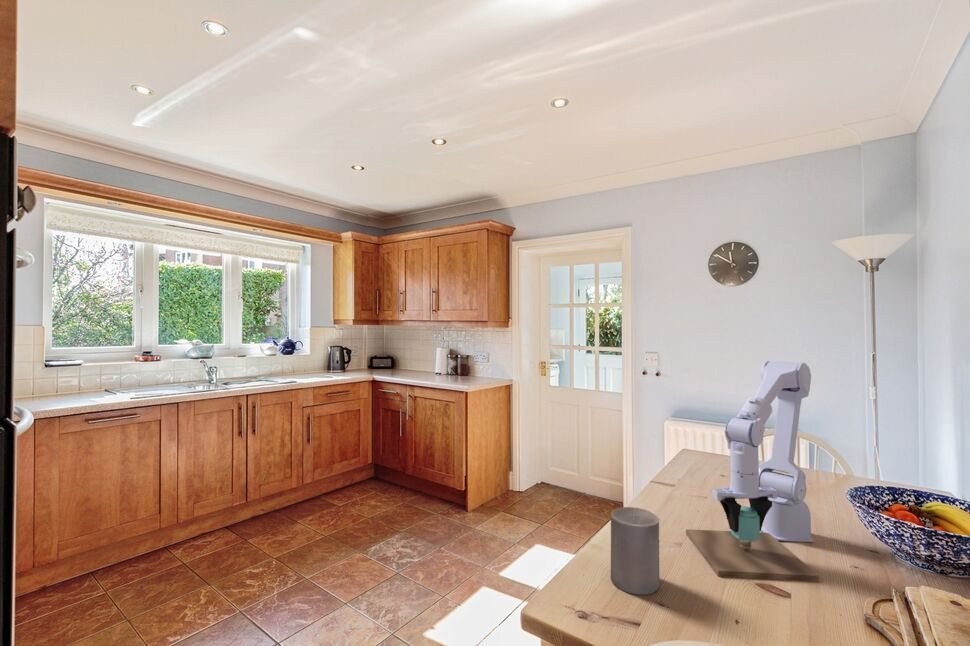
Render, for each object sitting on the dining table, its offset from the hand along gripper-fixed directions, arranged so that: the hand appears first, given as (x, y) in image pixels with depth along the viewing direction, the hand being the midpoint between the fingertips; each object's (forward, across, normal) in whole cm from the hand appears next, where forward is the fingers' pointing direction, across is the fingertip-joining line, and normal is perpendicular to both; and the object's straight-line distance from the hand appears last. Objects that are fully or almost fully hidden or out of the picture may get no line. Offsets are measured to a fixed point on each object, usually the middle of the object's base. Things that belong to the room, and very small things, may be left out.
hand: (745, 529), depth 104 cm
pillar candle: (+6, +30, +9) cm, 32 cm away
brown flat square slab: (+6, 0, 0) cm, 6 cm away
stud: (+5, 0, 0) cm, 5 cm away
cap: (+1, 0, 0) cm, 1 cm away
